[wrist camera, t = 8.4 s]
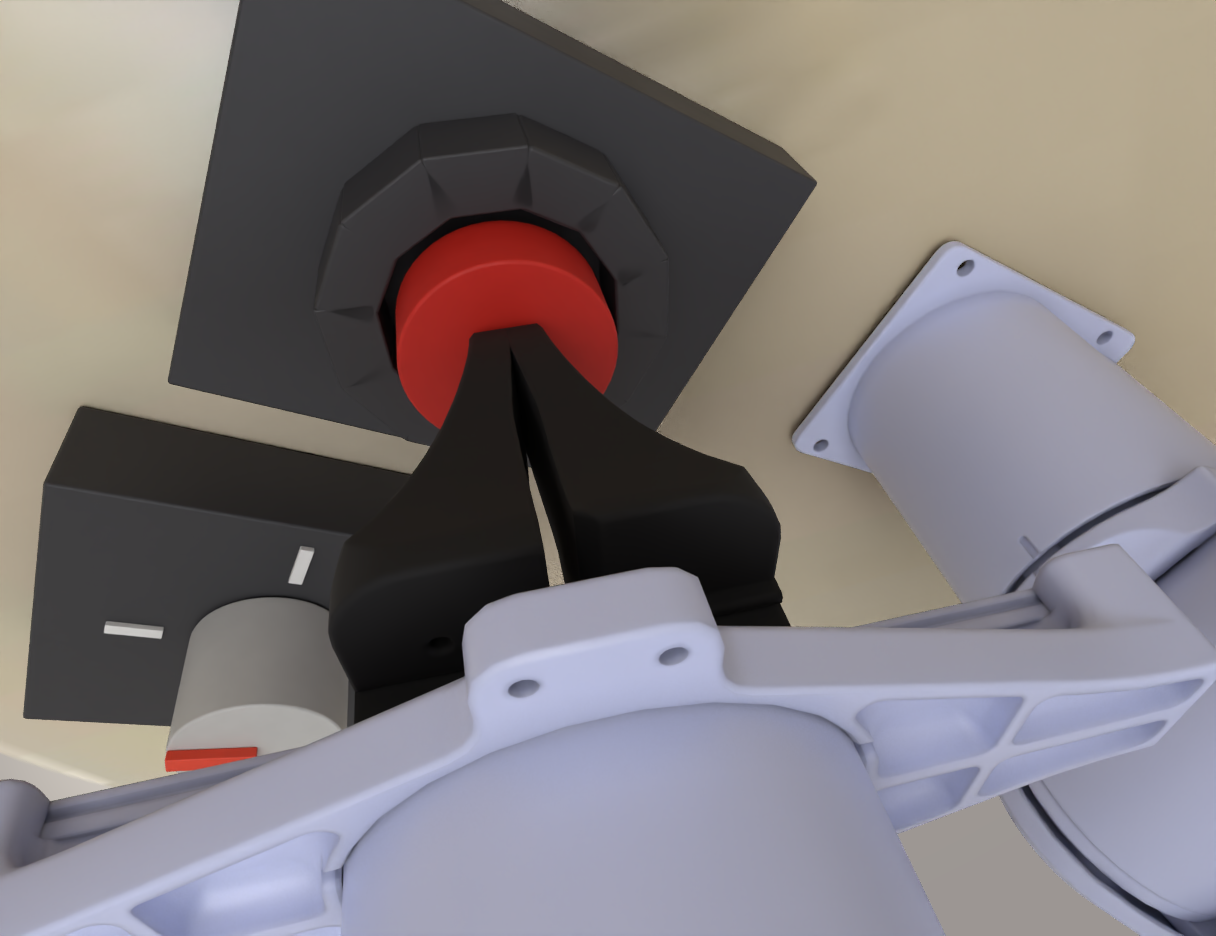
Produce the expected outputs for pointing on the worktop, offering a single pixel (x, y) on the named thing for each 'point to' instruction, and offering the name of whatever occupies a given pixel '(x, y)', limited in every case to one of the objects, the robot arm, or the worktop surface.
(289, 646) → the timer dial
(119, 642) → the timer panel
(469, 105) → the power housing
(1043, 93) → the worktop surface
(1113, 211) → the worktop surface
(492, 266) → the power button
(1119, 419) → the robot arm
